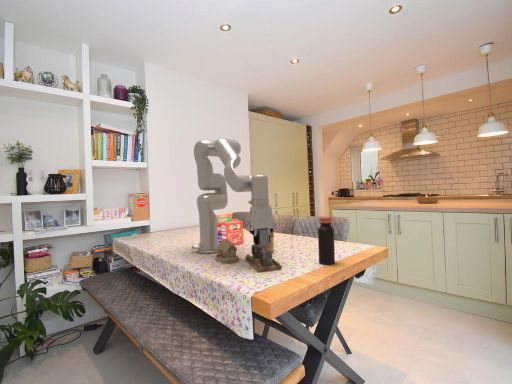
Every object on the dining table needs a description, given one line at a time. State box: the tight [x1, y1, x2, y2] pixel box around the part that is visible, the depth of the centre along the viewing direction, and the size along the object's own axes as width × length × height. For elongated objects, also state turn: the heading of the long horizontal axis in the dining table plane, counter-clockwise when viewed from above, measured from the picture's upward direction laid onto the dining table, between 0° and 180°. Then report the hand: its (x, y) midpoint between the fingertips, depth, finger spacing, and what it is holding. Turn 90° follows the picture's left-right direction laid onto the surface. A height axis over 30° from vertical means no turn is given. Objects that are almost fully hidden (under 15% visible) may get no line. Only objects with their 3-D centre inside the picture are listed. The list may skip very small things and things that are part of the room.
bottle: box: [317, 216, 336, 266], centre depth 119 cm, size 7×7×20 cm
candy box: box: [263, 228, 275, 253], centre depth 141 cm, size 9×4×15 cm, turn 129°
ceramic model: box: [214, 238, 240, 264], centre depth 130 cm, size 14×11×10 cm
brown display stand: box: [245, 243, 282, 273], centre depth 120 cm, size 10×20×8 cm, turn 17°
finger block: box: [256, 229, 269, 249], centre depth 120 cm, size 4×6×8 cm
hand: (261, 243), depth 120 cm, fingers closed on finger block, 4 cm apart
